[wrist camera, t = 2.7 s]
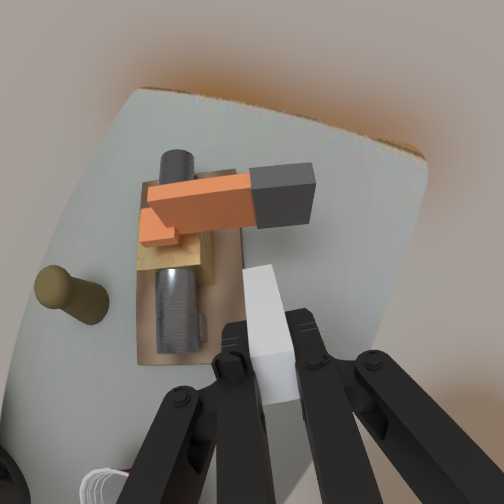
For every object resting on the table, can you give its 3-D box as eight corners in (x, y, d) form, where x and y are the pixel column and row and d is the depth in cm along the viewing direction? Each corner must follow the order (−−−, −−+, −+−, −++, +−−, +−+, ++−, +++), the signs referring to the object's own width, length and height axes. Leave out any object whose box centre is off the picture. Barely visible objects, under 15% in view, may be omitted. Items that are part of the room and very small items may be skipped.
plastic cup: (115, 446, 34) (64, 464, 23) (190, 444, 34) (156, 470, 23) (133, 514, 31) (91, 547, 19) (208, 515, 30) (184, 559, 19)
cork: (80, 280, 43) (35, 254, 33) (113, 287, 42) (70, 262, 32) (70, 319, 41) (22, 302, 31) (103, 329, 40) (56, 314, 30)
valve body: (163, 356, 37) (136, 352, 30) (164, 184, 45) (145, 151, 38) (219, 354, 37) (204, 350, 29) (211, 177, 45) (199, 142, 38)
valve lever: (149, 252, 33) (114, 217, 25) (151, 221, 34) (119, 180, 26) (309, 234, 32) (317, 191, 24) (303, 203, 33) (309, 154, 25)
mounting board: (142, 365, 38) (137, 364, 37) (146, 187, 47) (142, 182, 46) (251, 360, 38) (250, 360, 36) (236, 174, 47) (235, 168, 45)
